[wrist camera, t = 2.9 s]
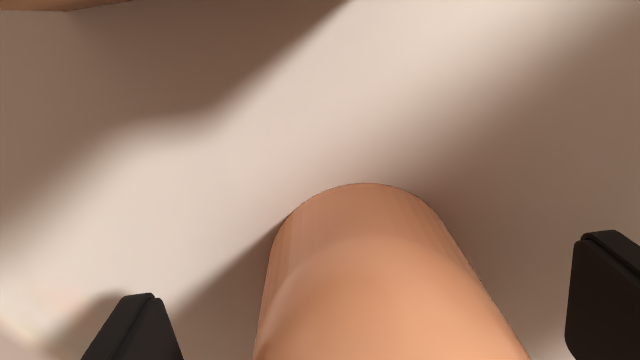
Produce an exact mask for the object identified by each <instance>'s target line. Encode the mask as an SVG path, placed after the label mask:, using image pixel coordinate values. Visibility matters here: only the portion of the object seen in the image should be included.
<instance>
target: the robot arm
mask: <svg viewBox="0 0 640 360" xmlns="http://www.w3.org/2000/svg"><path fill="white" fill-rule="evenodd" d="M565 342H566V345H567V347H568V349H569V351H570V352H571V354H572V355H573V356H574V358H575V359H576V360H640V246H638V245H637V244H635V243H634V242H633V241H631V240H630V239H628V238H627V237H625V236H624V235H623V234H621V233H620V232H618V231H616V230H605V231H597V232H590V233H585V234H583V235H582V237H581V239H580V241H577V242H576V243H575V244H574V249H573V259H572V268H571V278H570V287H569V297H568V306H567V316H566V325H565ZM81 360H184V359H183V356H182V354H181V351H180V348H179V345H178V342H177V340H176V337H175V334H174V331H173V328H172V326H171V323H170V320H169V317H168V315H167V312H166V309H165V306H164V303H163V301H162V300H161V299H160V298H155V296H154V295H153V294H152V293H143V294H135V295H128V296H124V297H123V298H122V299H121V300H120V301H119V303H118V304H117V306H116V307H115V309H114V310H113V312H112V313H111V315H110V316H109V318H108V319H107V321H106V322H105V324H104V325H103V327H102V328H101V330H100V331H99V333H98V334H97V336H96V337H95V339H94V340H93V342H92V343H91V345H90V346H89V348H88V349H87V351H86V352H85V354H84V355H83V357H82V358H81Z"/></svg>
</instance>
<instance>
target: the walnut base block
mask: <svg viewBox="0 0 640 360" xmlns="http://www.w3.org/2000/svg"><path fill="white" fill-rule="evenodd" d="M125 1H132V0H0V10H35V11H68V10H75V9H81V8H87V7H94V6H100V5H106V4H113V3H119V2H125Z"/></svg>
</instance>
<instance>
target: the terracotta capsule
mask: <svg viewBox="0 0 640 360" xmlns="http://www.w3.org/2000/svg"><path fill="white" fill-rule="evenodd" d="M252 360H531V359H530V357H529V356H528V354H527V353H526V351H525V350H524V348H523V346H522V345H521V343H520V342H519V340H518V339H517V337H516V336H515V334H514V332H513V331H512V329H511V328H510V326H509V325H508V323H507V322H506V320H505V319H504V317H503V315H502V314H501V312H500V311H499V309H498V308H497V306H496V305H495V303H494V301H493V300H492V298H491V297H490V295H489V294H488V292H487V291H486V289H485V287H484V286H483V284H482V283H481V281H480V280H479V278H478V277H477V275H476V273H475V272H474V270H473V269H472V267H471V266H470V264H469V263H468V261H467V259H466V258H465V256H464V255H463V253H462V252H461V250H460V249H459V247H458V245H457V244H456V242H455V241H454V239H453V238H452V236H451V235H450V233H449V231H448V230H447V228H446V227H445V225H444V224H443V222H442V221H441V219H440V218H439V216H438V215H437V214H436V213H435V212H434V210H433V209H432V208H431V207H429V206H428V205H427V204H426V203H425V202H424V201H422V200H421V199H419V198H417V197H416V196H414V195H413V194H411V193H408V192H406V191H404V190H402V189H398V188H395V187H392V186H388V185H382V184H374V183H358V184H349V185H344V186H339V187H335V188H332V189H329V190H326V191H324V192H322V193H320V194H318V195H315V196H313V197H312V198H310V199H309V200H307V201H306V202H304V203H303V204H301V205H300V206H299V207H298V208H297V209H295V210H294V211H293V212H292V213H291V214H290V215H289V217H288V218H287V219H286V220H285V221H284V223H283V224H282V226H281V227H280V229H279V230H278V232H277V234H276V236H275V238H274V241H273V244H272V247H271V251H270V257H269V263H268V269H267V274H266V280H265V286H264V292H263V298H262V303H261V309H260V315H259V321H258V327H257V332H256V338H255V344H254V350H253V356H252Z"/></svg>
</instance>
